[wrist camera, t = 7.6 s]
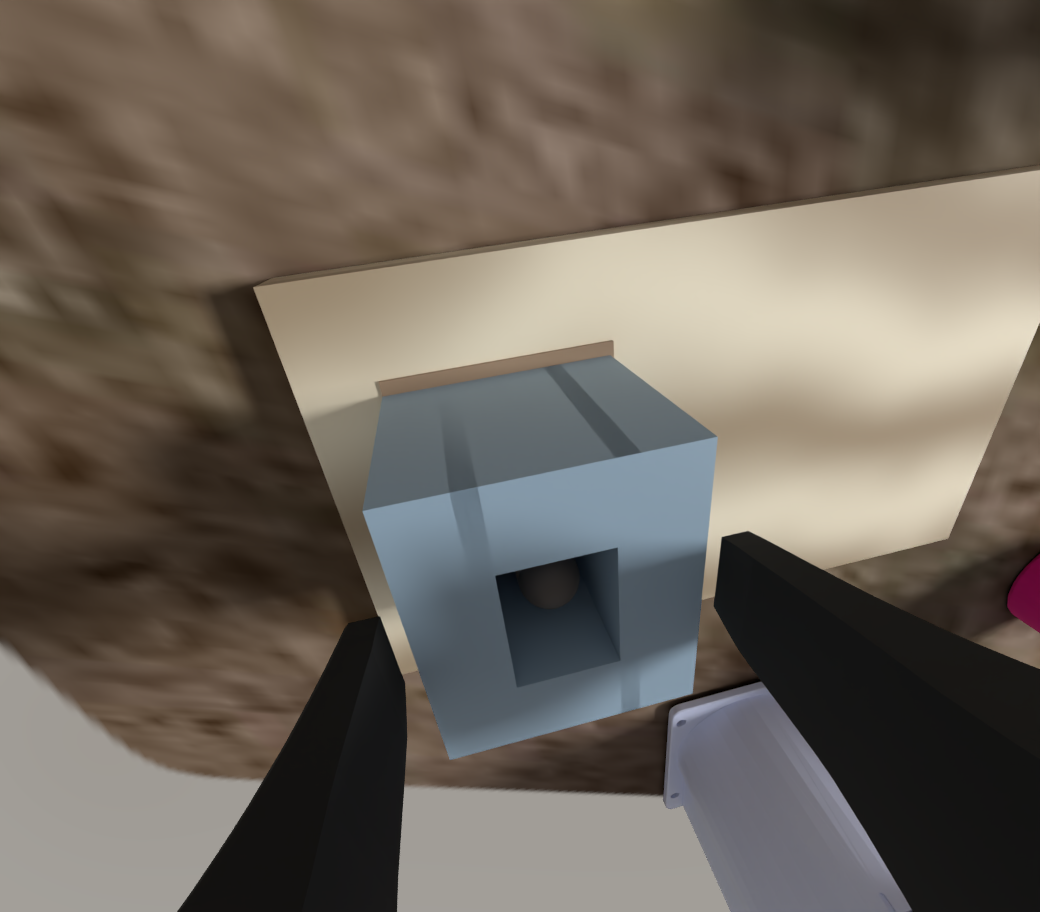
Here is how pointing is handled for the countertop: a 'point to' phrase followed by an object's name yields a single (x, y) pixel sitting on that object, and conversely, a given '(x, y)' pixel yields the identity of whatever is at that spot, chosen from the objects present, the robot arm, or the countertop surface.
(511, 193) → the countertop surface
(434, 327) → the base plate
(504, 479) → the block
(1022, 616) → the pepper mill
